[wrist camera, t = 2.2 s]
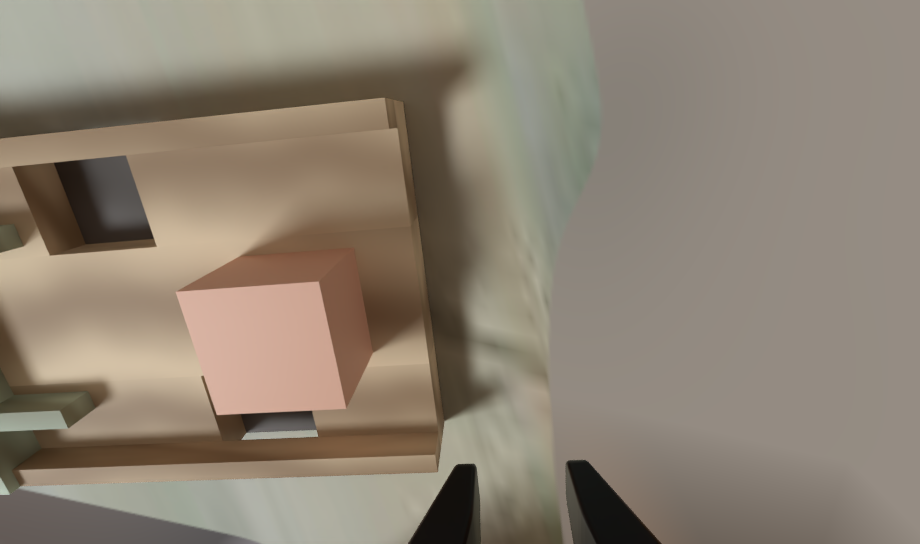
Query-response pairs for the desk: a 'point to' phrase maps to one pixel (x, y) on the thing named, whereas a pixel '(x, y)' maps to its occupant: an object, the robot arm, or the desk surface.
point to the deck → (186, 260)
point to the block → (280, 331)
